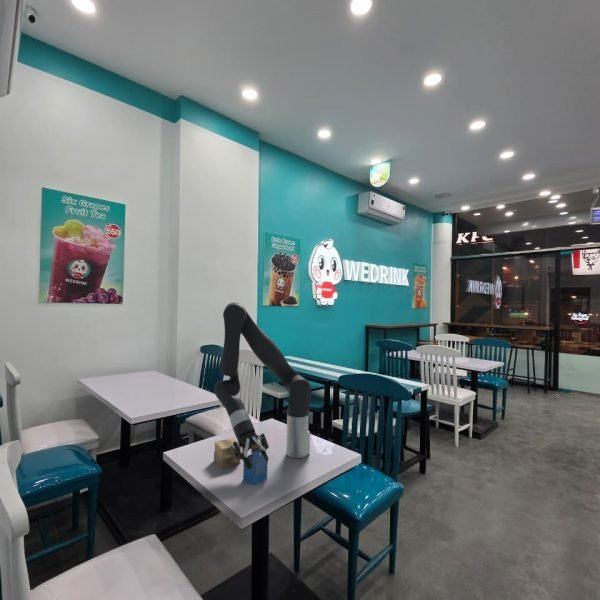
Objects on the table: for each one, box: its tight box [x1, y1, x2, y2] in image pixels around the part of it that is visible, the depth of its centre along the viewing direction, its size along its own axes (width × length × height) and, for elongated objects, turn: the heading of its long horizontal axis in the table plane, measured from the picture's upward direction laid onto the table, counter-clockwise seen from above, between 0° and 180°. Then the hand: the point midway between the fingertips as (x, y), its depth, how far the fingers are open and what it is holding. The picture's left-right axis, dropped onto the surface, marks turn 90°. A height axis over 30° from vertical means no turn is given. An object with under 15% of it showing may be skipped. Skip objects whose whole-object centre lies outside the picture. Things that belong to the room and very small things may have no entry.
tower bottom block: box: [213, 451, 241, 470], centre depth 137 cm, size 8×8×4 cm
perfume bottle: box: [242, 445, 269, 486], centre depth 124 cm, size 6×6×12 cm
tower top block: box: [214, 437, 242, 459], centre depth 137 cm, size 8×8×4 cm
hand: (258, 465), depth 123 cm, fingers closed on perfume bottle, 6 cm apart
